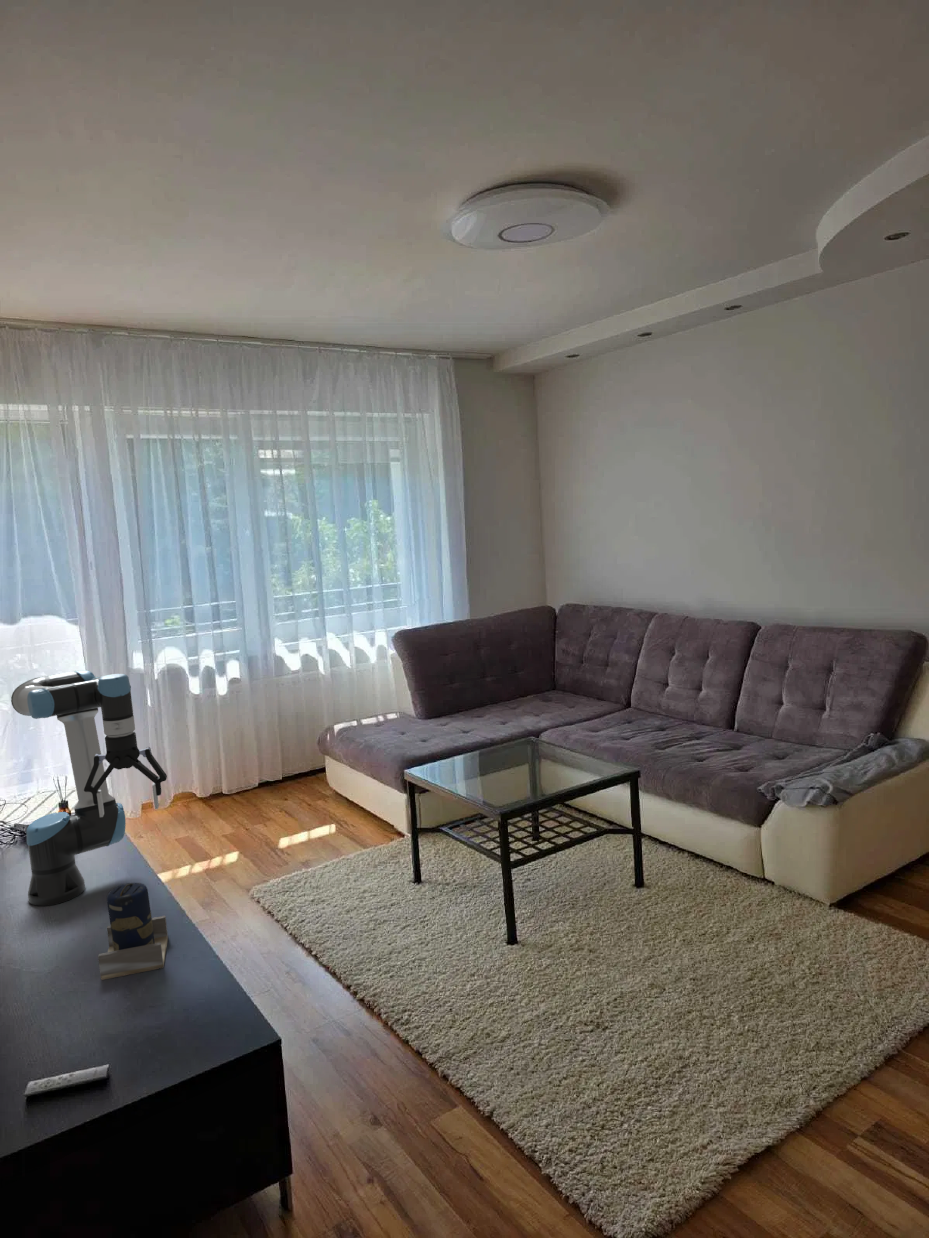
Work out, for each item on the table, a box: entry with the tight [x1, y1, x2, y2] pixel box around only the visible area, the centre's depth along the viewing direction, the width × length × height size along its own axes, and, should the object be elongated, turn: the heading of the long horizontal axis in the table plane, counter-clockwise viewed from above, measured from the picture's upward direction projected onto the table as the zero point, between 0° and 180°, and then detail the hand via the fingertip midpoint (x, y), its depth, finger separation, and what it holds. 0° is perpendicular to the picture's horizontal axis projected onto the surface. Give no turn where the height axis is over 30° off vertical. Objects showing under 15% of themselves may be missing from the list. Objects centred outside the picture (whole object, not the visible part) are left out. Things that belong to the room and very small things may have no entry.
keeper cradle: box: [97, 915, 169, 981], centre depth 205 cm, size 15×14×6 cm
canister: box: [106, 882, 155, 951], centre depth 204 cm, size 10×10×18 cm
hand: (129, 811), depth 218 cm, fingers open, 13 cm apart
